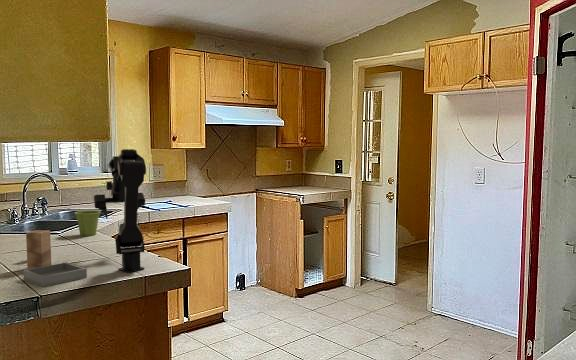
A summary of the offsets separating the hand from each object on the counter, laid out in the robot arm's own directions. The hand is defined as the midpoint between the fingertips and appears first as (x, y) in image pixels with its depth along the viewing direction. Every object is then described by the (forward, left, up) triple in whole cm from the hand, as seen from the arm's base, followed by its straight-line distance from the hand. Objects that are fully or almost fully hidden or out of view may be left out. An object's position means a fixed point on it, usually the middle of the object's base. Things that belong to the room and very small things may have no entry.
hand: (118, 217), depth 198 cm
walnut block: (0, +31, -15) cm, 35 cm away
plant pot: (+49, -13, -15) cm, 53 cm away
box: (-18, +34, -14) cm, 41 cm away
